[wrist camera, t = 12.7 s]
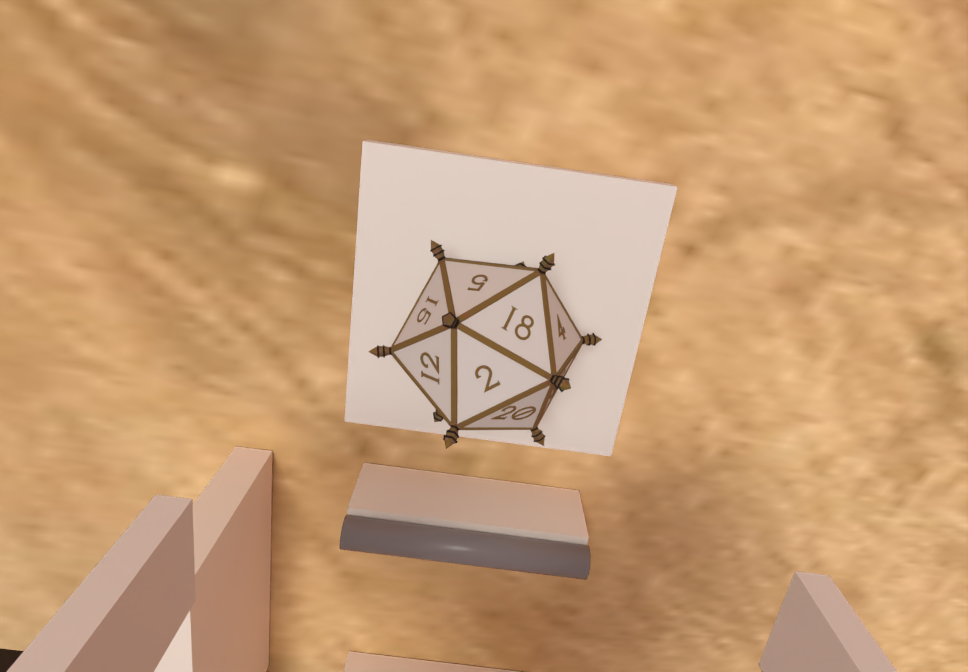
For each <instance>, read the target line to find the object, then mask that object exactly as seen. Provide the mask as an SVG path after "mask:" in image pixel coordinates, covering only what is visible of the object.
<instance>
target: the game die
mask: <svg viewBox="0 0 968 672" xmlns="http://www.w3.org/2000/svg"><path fill="white" fill-rule="evenodd" d="M441 246H442V244H441V245H440V244H438V243H436V242H434V241H432V240H431V250H430V252H432V253H433V257H434V256H435V258H436V259H437V260H438V263H437V265H436V267H435V268H434V270H433V272H432V274H431V276H430V277H429V279H428V281H427V283H426V285H425V286H424V288H423V290H422V292H421V294H420V295H419V297H418V299H417V301H416V303H415V304H414V306H413V308H412V310H411V312H410V313H409V315H408V317H407V319H406V321H405V322H404V324H403V326H402V328H401V330H400V331H399V333H398V335H397V337H396V339H395V340H394V342H393V344H392V346H391V347H387V346H384V345H383V346H379V345H377V347H375V348H373V349H372V350H370V351H368V352H369V353H371V354H373V355H375V356H377V357H378V358H379V357H384V358H385V356H387V355H392V356H393V358H394V359H395V360H396V361H397V363H398V364H399V365H400V366H401V367H402V369H403V370H404V371H405V372H406V374H407V375H408V376H409V377H410V378H411V380H412V381H413V382H414V383H415V384H416V386H417V387H418V388H419V389H420V391H421V392H422V393H423V394H424V395H425V397H426V398H427V399H428V400H429V402H430V403H431V404H432V405H433V406H434V408H435V409H436V411H435V412H433V417H434V422H438V421H439V422H441V421H442V420H443V419H444V420H445V421H446V422H447V423H448V425H449V426H450V429H449V430H447V431H446V435H444V439H443V440H445V446H446V449H447V448H448V447H450V446H451V445H452V444H454V443H457V441H456V440H457V438H459V435H458V431H459V430H530V431H531V432H532V436H531V437H533V439H534V442H537V443H539V444H541V445H543V446H544V440H545V437H546V436H545V435H544V434H543V433H542V432H543V431H542V430H539V428H538V425H539V423H540V421H541V419H542V417H543V416H544V414H545V412H546V410H547V408H548V406H549V405H550V403H551V401H552V399H553V397H554V395H555V394H556V392H557V390H558V389H559V390H560V391H561V392H563V391H564V390H567V389H571V386H570V383H569V378H565V375H566V374H567V372H568V370H569V368H570V366H571V364H572V363H573V361H574V359H575V357H576V355H577V353H578V352H579V350H580V348H581V346H582V344H586V345H588V346H590V345H593V346H596V344H597V343H598V342H599V341H601V340H602V339H601V338H599V337H598V336H596V335H595V334H594V333H592V334H590V335H589V333H588V334H587V335H586V336H581V334H580V332H579V331H578V329H577V327H576V326H575V324H574V322H573V321H572V319H571V317H570V315H569V314H568V312H567V310H566V309H565V307H564V305H563V303H562V302H561V300H560V298H559V297H558V295H557V293H556V291H555V290H554V288H553V286H552V285H551V283H550V281H549V279H548V278H547V276H546V272H547V271H548V270H551V267H552V266H555V263H554V253H552V254H550V255H548V256H546V255H545V256H544V257H543V258H542V259H543V260H542V261H541V262H540V263H539V264H540V266H539V268H533V267H527V266H525V264H524V261H523V262H521V263H518V264H516V265H507V264H498V263H489V262H480V261H471V260H463V259H454V258H446V257H445V256H444V251H445V250H443V249H442V247H441Z"/></svg>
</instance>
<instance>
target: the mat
mask: <svg viewBox="0 0 968 672" xmlns="http://www.w3.org/2000/svg"><path fill="white" fill-rule="evenodd" d="M676 191H677V186H675V185H673V184H669V183H662V182H656V181H649V180H642V179H635V178H628V177H621V176H614V175H607V174H600V173H594V172H587V171H580V170H573V169H566V168H559V167H552V166H545V165H538V164H532V163H525V162H518V161H511V160H504V159H497V158H490V157H483V156H477V155H470V154H463V153H456V152H449V151H442V150H435V149H428V148H421V147H415V146H408V145H401V144H394V143H387V142H380V141H373V140H365V141H363V145H362V160H361V176H360V191H359V206H358V222H357V237H356V253H355V268H354V283H353V299H352V314H351V330H350V345H349V361H348V376H347V391H346V407H345V422H352V423H360V424H367V425H375V426H383V427H390V428H398V429H406V430H413V431H421V432H429V433H436V434H444V435H446V431H447V430H449V429H450V426H449V425H448V423H447V422H446V421H445V420H444V419H443V420H442V421H441V422H439V421H438V422H434V417H433V412H435V411H436V409H435V408H434V406H433V405H432V404H431V403H430V402H429V400H428V399H427V398H426V397H425V395H424V394H423V393H422V392H421V391H420V389H419V388H418V387H417V386H416V384H415V383H414V382H413V381H412V380H411V378H410V377H409V376H408V375H407V374H406V372H405V371H404V370H403V369H402V367H401V366H400V365H399V364H398V363H397V361H396V360H395V359H394V358H393V356H392V355H387V356H385V358H384V357H379V358H378V357H377V356H375V355H373V354H371V353H369V352H368V351H370V350H372V349H373V348H375V347H377V345H379V346H383V345H384V346H387V347H391V346H392V344H393V342H394V340H395V339H396V337H397V335H398V333H399V331H400V330H401V328H402V326H403V324H404V322H405V321H406V319H407V317H408V315H409V313H410V312H411V310H412V308H413V306H414V304H415V303H416V301H417V299H418V297H419V295H420V294H421V292H422V290H423V288H424V286H425V285H426V283H427V281H428V279H429V277H430V276H431V274H432V272H433V270H434V268H435V267H436V265H437V263H438V260H437V259H436V258H435V256H434V257H433V253H432V252H430V250H431V240H432V241H434V242H436V243H438V244H440V245H441V244H442V246H441V247H442V249H443V250H445V251H444V256H445V257H446V258H454V259H463V260H471V261H480V262H489V263H498V264H507V265H516V264H518V263H521V262H523V261H524V264H525V266H527V267H533V268H539V266H540V264H539V263H540V262H541V261H542V260H543V259H542V258H543V257H544V256H545V255H546V256H548V255H550V254H552V253H554V263H555V266H552V267H551V270H548V271H547V272H546V276H547V278H548V279H549V281H550V283H551V285H552V286H553V288H554V290H555V291H556V293H557V295H558V297H559V298H560V300H561V302H562V303H563V305H564V307H565V309H566V310H567V312H568V314H569V315H570V317H571V319H572V321H573V322H574V324H575V326H576V327H577V329H578V331H579V332H580V334H581V336H586V335H587V334H588V333H589V335H590V334H592V333H594V334H595V335H596V336H598V337H599V338H601V339H602V340H601V341H599V342H598V343H597V344H596V346H593V345H590V346H588V345H586V344H582V346H581V348H580V350H579V352H578V353H577V355H576V357H575V359H574V361H573V363H572V364H571V366H570V368H569V370H568V372H567V374H566V375H565V378H569V383H570V386H571V389H567V390H564V391H563V392H561V391H560V390H559V389H558V390H557V392H556V394H555V395H554V397H553V399H552V401H551V403H550V405H549V406H548V408H547V410H546V412H545V414H544V416H543V417H542V419H541V421H540V423H539V425H538V428H539V430H542V431H543V432H542V433H543V434H544V435H545V436H546V437H545V440H544V446H543V445H541V444H539V443H537V442H534V439H533V437H531V436H532V432H531V431H530V430H459V431H458V435H459V437H467V438H475V439H482V440H490V441H498V442H505V443H513V444H521V445H528V446H536V447H544V448H551V449H559V450H567V451H574V452H582V453H590V454H597V455H605V456H611V455H612V451H613V447H614V442H615V438H616V434H617V430H618V426H619V422H620V418H621V414H622V410H623V406H624V402H625V398H626V394H627V390H628V386H629V382H630V378H631V374H632V370H633V365H634V361H635V357H636V353H637V349H638V345H639V341H640V337H641V333H642V329H643V325H644V321H645V317H646V313H647V309H648V305H649V301H650V297H651V293H652V289H653V284H654V280H655V276H656V272H657V268H658V264H659V260H660V256H661V252H662V248H663V244H664V240H665V236H666V232H667V228H668V224H669V220H670V216H671V212H672V207H673V203H674V199H675V195H676Z"/></svg>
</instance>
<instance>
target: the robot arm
mask: <svg viewBox="0 0 968 672" xmlns="http://www.w3.org/2000/svg"><path fill="white" fill-rule="evenodd" d="M195 601H196V596H195V564H194V533H193V502H192V499H188V498H180V497H171V496H163V495H155V496H154V497H153V499H152V500H151V501H150V502H149V503H148V504H147V506H146V507H145V508H144V509H143V510H142V512H141V513H140V514H139V515H138V516H137V518H136V519H135V520H134V521H133V522H132V523H131V525H130V526H129V527H128V528H127V529H126V531H125V532H124V533H123V534H122V535H121V536H120V538H119V539H118V540H117V541H116V542H115V544H114V545H113V546H112V547H111V548H110V550H109V551H108V552H107V553H106V554H105V555H104V557H103V558H102V559H101V560H100V561H99V563H98V564H97V565H96V566H95V567H94V569H93V570H92V571H91V572H90V573H89V574H88V576H87V577H86V578H85V579H84V580H83V582H82V583H81V584H80V585H79V586H78V587H77V589H76V590H75V591H74V592H73V593H72V595H71V596H70V597H69V598H68V599H67V601H66V602H65V603H64V604H63V605H62V606H61V608H60V609H59V610H58V611H57V612H56V614H55V615H54V616H53V617H52V618H51V620H50V621H49V622H48V623H47V624H46V625H45V627H44V628H43V629H42V630H41V631H40V633H39V634H38V635H37V636H36V637H35V638H34V640H33V641H32V642H31V643H30V644H29V646H28V647H27V648H26V649H25V650H24V651H17V650H8V649H0V672H154V671H155V669H156V667H157V666H158V664H159V662H160V660H161V659H162V657H163V655H164V654H165V652H166V650H167V648H168V647H169V645H170V643H171V642H172V640H173V638H174V637H175V635H176V633H177V631H178V630H179V628H180V626H181V625H182V623H183V621H184V619H185V618H186V616H187V614H188V613H189V611H190V609H191V608H192V606H193V604H194V602H195ZM759 666H760V668H761V670H762V672H897V670H896V669H895V668H894V666H893V665H892V663H891V662H890V661H889V659H888V658H887V656H886V655H885V654H884V652H883V651H882V649H881V648H880V647H879V645H878V644H877V642H876V641H875V640H874V638H873V637H872V635H871V634H870V632H869V631H868V630H867V628H866V627H865V625H864V624H863V623H862V621H861V620H860V618H859V617H858V616H857V614H856V613H855V611H854V610H853V609H852V607H851V606H850V604H849V603H848V602H847V600H846V599H845V597H844V596H843V595H842V593H841V592H840V590H839V589H838V587H837V586H836V585H835V583H834V582H833V580H832V579H831V578H830V576H829V575H823V574H815V573H806V572H798V571H795V572H794V575H793V578H792V580H791V583H790V585H789V588H788V590H787V593H786V595H785V598H784V600H783V603H782V606H781V608H780V611H779V613H778V616H777V618H776V621H775V623H774V626H773V628H772V631H771V634H770V636H769V639H768V641H767V644H766V646H765V649H764V651H763V654H762V656H761V659H760V662H759Z"/></svg>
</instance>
